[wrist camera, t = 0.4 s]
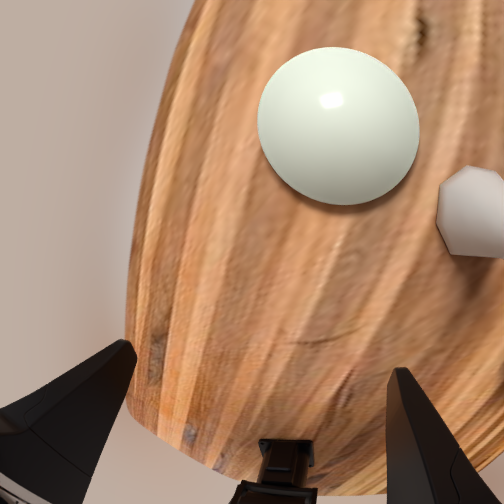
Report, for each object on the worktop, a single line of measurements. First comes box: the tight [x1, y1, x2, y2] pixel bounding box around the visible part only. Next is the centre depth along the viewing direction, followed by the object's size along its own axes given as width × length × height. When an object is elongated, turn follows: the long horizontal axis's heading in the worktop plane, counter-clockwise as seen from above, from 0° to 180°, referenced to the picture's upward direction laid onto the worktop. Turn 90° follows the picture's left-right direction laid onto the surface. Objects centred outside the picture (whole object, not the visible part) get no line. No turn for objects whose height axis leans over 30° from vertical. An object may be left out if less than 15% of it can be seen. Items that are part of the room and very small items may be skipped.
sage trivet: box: [257, 47, 419, 205], centre depth 18 cm, size 11×11×1 cm
